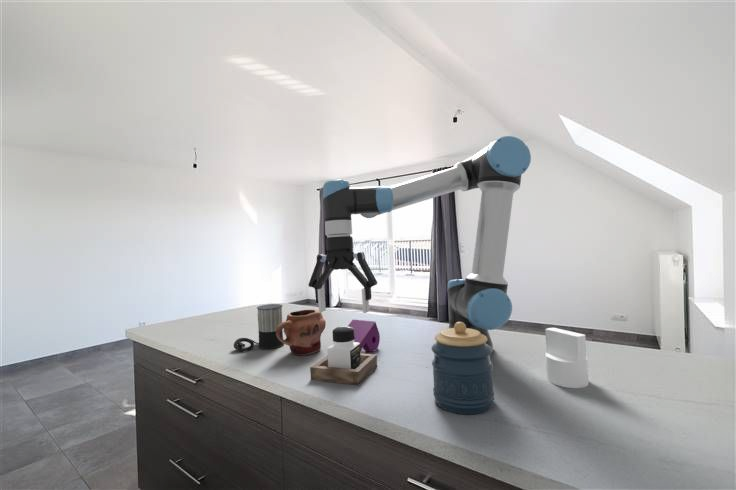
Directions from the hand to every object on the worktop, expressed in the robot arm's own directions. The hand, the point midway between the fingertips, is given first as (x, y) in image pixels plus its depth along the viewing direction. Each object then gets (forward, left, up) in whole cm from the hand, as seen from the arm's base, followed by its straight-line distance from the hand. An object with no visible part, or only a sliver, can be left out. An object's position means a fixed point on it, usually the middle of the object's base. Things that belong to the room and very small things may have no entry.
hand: (343, 311), depth 96 cm
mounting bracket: (+5, -16, -18) cm, 25 cm away
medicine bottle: (0, 0, -17) cm, 17 cm away
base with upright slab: (-56, -9, -17) cm, 59 cm away
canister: (-33, +9, -17) cm, 38 cm away
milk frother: (+42, -15, -17) cm, 47 cm away
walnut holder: (0, 0, -17) cm, 17 cm away
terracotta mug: (+22, -13, -17) cm, 31 cm away
